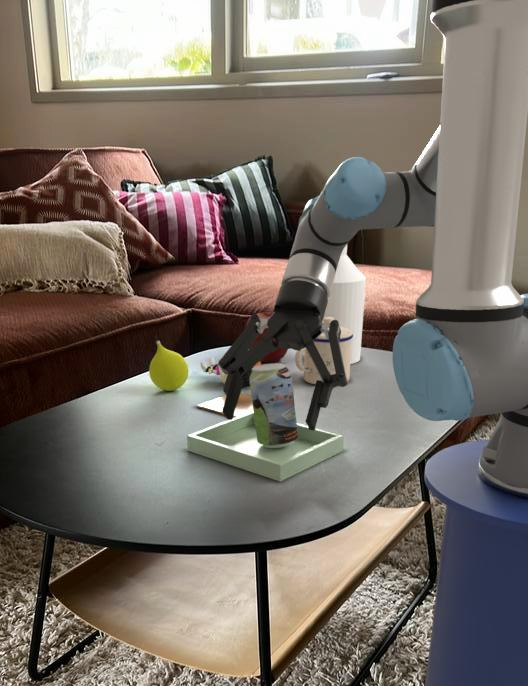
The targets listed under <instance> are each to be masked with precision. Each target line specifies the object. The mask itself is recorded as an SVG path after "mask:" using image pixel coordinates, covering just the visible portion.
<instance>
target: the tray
mask: <svg viewBox="0 0 528 686" xmlns="http://www.w3.org/2000/svg"><path fill="white" fill-rule="evenodd" d="M297 431H298V438H297V439H296V440H294V442H293V443H292V444H290V445H288V446H285V447H279V448H267V447H264V446H263V445H262V444H260V443H258V441H257V434H256V427H255V419H254V411H251V412H248V413H246V414H243V415H240V416H238V417H235V418H233V419H232V420H229V419H226V420H224V421H221V422H219V423H217V424H216V423H215V424H214V425H211V426H208V427H206V428H204V429H200V430H198V431H196V432H193V433H190V434H187V436H186V439H187V440H186V442H187V451H188V452H190V453H191V452H192V453H194V454H196V455H200V456H203V457H206V458H209V459H212V460H214V461H217V462H220V463H224V464H226V465H229V466H232V467H235V468H239V469H241V470H244V471H247V472H250V473H253V474H255V475H259V476H261V477H262V476H263V477H265V478H268V479H271V480H275V481H277V482H283V481H284V480H287V479H288V478H290V477H293V476H295V475H297V474H299V473H301V472H303V471H305V470H307V469H309V468H311V467H313V466H315V465H317V464H319V463H321V462H324V461H325V460H328V459H330V458H332V457H334V456H335V455H336V456H337V455H338V454H340V453H342V452H344V441H345V440H344V439H345V435H342V434H339V433H335V432H332V431H329V430H325V429H322V428H321V429H320V428H317V427H315V431H314V430H309V428H308V426H307V424H302V423H300V422H299V423H298V422H297Z"/></svg>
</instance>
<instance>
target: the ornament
mask: <svg viewBox="0 0 528 686" xmlns="http://www.w3.org/2000/svg"><path fill="white" fill-rule="evenodd" d="M154 335H155V339H156V341H155V343H156V345H157V349H156V353H155V354H154V356H153V357H152V360H151V361H150V364H149V369H148V374H149V378H150V380H151V382H152V383H153V384H154V386H156V387H157V388H159V389H160V390H163V391H168V392H171V391H175V390H179V389H180V388H181V387H182V386H184V384H185V383H186V382H187V380H188V378H189V366H188V363H187V361H186V359H185V358H184V357H183V356H182V355H181V354H180V353H178V352H175V351H173V350H169V349H167V348H165V347H164V346H163V345H162V343H161V341H160V340H158V337H157V336H156V334H154Z"/></svg>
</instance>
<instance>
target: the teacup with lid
mask: <svg viewBox="0 0 528 686" xmlns="http://www.w3.org/2000/svg"><path fill="white" fill-rule="evenodd" d="M332 320H334V318H333V317H325V318H324V319H323V323H331V321H332ZM339 326H340V329H341V336H340V341H339V344H340V349H341V354H342V359H343V364H344V369H345V373H346V378H347V383H348V382H349V380H350V377H351V364H350V360H351V340H352V337H353V334H352V331H351V330H350V329H348V328H344V327H342V326H341V325H339ZM313 342H314V344H315V346H316V348H317V350H318V352H319V354H320V356H321V357H322V359H323V361H324V363H325V365H326V367H327V369H328V371H329V373H330V375H333V374H336V372H335V367H334V362H333V357H332V352H331V347H330V342H329V339H327V338H326V336H325V333H323V332H322V333H321V335H319V336H318V337H317V338H316V339H315V340H314V341H313ZM302 355H303V363H302ZM294 357H295V358H294V361H295V365H296V368H297V369H298V370H299V371H300V372H303V380H304V381H305V382H307V384H310V385H314V386H315V385H316V381H317V380H320V381H322V382H323V380H322V378H321V376H320V375H319V373H318V371H317V369H316V367H315V365H314V363H313V361H312V359H311V357H310V355H309V353H308V351H307V349H306V347H305V348H303V349H301V351H298V350H296V352H295V355H294Z"/></svg>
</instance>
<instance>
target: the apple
mask: <svg viewBox="0 0 528 686" xmlns="http://www.w3.org/2000/svg"><path fill="white" fill-rule="evenodd" d="M256 314H257V315H258V317H259V318H265V319H269V318H270V317H271V316H272V314H273V312H266V311H263V312H259V313H256ZM249 320H250V317H249V318H248V319H247V321H246V325H245V328H246V327H247V325H248V323H249ZM268 330H269V328H266V329H264V330H263V333H262V334H259V336H258V338H257V339H256V341H255V342H254V343H253V344H252V346H253V345H255V344H256V343H257V342H258V341H259V340H261V339H262V336H263V335H264V334H265V333H266V332H267V331H268ZM271 341H272V342H273V341H274V339H273V338H272V340H271ZM252 346H251V347H252ZM251 347H250V348H251ZM250 348H249V349H250ZM249 349H248V350H249ZM288 350H289V349H281V348H280V347H279V348H278V349H277V350H275V351H274V352H270V353H269V354H268V355H266V356H265V357H264V358H263V359H262V360H260V362H261V363H276V362H279V361H281V360H282V359H283V358H284V357H285V356H286V354H287V353H288Z"/></svg>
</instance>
